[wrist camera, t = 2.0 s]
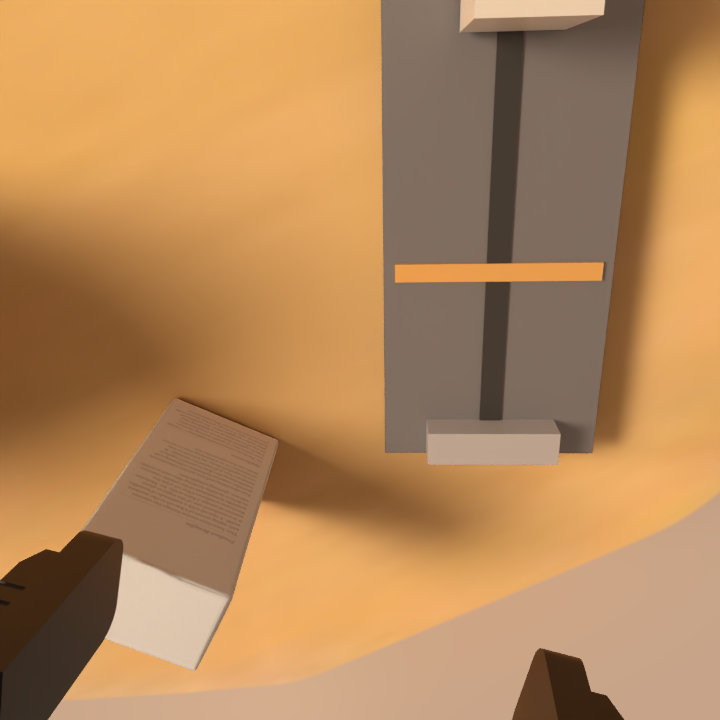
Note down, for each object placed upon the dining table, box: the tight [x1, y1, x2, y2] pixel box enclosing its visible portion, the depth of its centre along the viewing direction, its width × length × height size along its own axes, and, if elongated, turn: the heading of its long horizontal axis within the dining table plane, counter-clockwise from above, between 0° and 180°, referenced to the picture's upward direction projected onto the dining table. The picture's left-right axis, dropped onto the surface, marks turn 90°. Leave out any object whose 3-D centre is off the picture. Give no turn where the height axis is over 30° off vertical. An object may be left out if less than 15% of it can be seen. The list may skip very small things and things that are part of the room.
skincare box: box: [80, 398, 279, 671], centre depth 30 cm, size 6×4×12 cm
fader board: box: [381, 0, 645, 465], centre depth 29 cm, size 26×10×4 cm, turn 1°
